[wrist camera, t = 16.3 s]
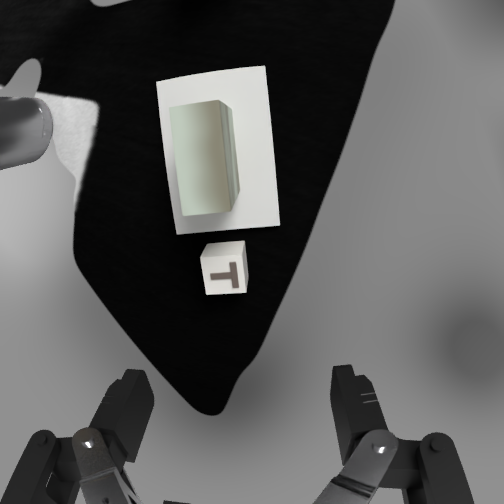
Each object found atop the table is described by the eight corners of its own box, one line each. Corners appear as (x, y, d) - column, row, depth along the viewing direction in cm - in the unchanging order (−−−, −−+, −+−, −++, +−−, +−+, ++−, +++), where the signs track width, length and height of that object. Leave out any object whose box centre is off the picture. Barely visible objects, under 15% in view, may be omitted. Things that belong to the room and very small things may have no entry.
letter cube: (212, 277, 40) (206, 295, 36) (207, 243, 38) (199, 258, 34) (248, 275, 40) (246, 293, 35) (244, 240, 38) (241, 255, 34)
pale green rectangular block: (204, 193, 35) (182, 216, 26) (195, 113, 32) (168, 107, 23) (240, 189, 35) (230, 211, 26) (231, 109, 32) (218, 99, 23)
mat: (178, 232, 38) (176, 234, 37) (158, 82, 32) (156, 82, 31) (279, 223, 37) (279, 225, 36) (264, 67, 31) (264, 65, 30)
